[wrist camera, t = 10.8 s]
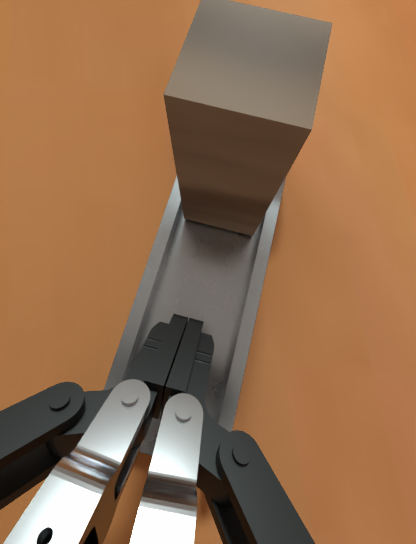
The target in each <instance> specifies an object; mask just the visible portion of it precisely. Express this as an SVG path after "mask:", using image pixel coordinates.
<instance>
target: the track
mask: <svg viewBox="0 0 416 544" xmlns="http://www.w3.org/2000/svg"><path fill="white" fill-rule="evenodd" d="M285 178H286V177H285ZM284 183H285V179H284V181H283V182H282V184H281V186H280V188H279V190H278V192H277V193H276V195H275V197H274V199H273V201H272V202H271V204H270V206H269V208H268V210H267V211H266V213H265V215H264V217H263V219H262V220H261V222H260V224H259V226H258V228H257V229H256V231H255V233H254V235H253V236H250V235H246V234H242V233H239V232H235V231H231V230H227V229H223V228H219V227H215V226H211V225H207V224H203V223H200V222H196V221H192V220H188V219H184V215H183V209H182V203H181V197H180V191H179V184H178V178H177V177H176V180H175V183H174V186H173V189H172V192H171V195H170V198H169V201H168V203H167V206H166V209H165V212H164V215H163V218H162V221H161V224H160V227H159V230H158V233H157V236H156V239H155V242H154V244H153V247H152V250H151V253H150V256H149V259H148V262H147V265H146V268H145V271H144V274H143V277H142V280H141V282H140V285H139V288H138V291H137V294H136V297H135V300H134V303H133V306H132V309H131V312H130V315H129V318H128V321H127V323H126V326H125V329H124V332H123V335H122V338H121V341H120V344H119V347H118V350H117V353H116V356H115V359H114V362H113V364H112V367H111V370H110V373H109V376H108V379H107V382H106V385H105V388H104V390H108V389H111V388H113V387H115V386H117V385H118V384H119V383H121V382H122V381H123V380H124V379H125V378H126V376H127V374H128V373H129V371H130V369H131V367H132V365H133V363H134V361H135V359H136V357H137V355H138V353H139V351H140V350H141V348H142V346H143V344H144V342H145V340H146V339H147V336H148V334H149V332H150V330H151V329H152V327H154V326H155V325H156V324H157V323H159V322H164V323H168V324H169V323H170V320H171V318H172V316H173V314H177V315H181V316H185V317H188V320H189V318H193V319H196V320H200V321H204V323H203V327H202V331H201V332H202V333H205V334H209V335H212V338H213V341H214V351H213V356H212V362H211V368H210V373H209V379H208V385H207V390H206V396H205V405H206V409H207V411H208V413H209V415H210V416H211V418H212V419H213V420H214V421H215V422H216V423H218V424H219V425H220V426H222V427H223V428H225V429H226V430H227V431H229V432H231V431H232V428H233V423H234V419H235V414H236V409H237V404H238V400H239V395H240V390H241V386H242V381H243V376H244V371H245V367H246V362H247V357H248V353H249V348H250V343H251V339H252V334H253V329H254V324H255V320H256V315H257V310H258V306H259V301H260V296H261V291H262V287H263V282H264V277H265V273H266V268H267V263H268V258H269V254H270V249H271V244H272V240H273V235H274V230H275V225H276V221H277V216H278V211H279V207H280V202H281V197H282V192H283V188H284ZM161 410H162V409H161ZM160 416H161V412H160V415H159V419H155V418H152V421H151V424H150V427H149V429H148V432H147V435H146V437H145V440H144V442H143V445H142V447H141V449H140V452H142V453H146V454H149V455H152V456H153V451H154V447H155V443H156V439H157V435H158V431H159V427H160V423H161V420H160Z"/></svg>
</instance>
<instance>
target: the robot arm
mask: <svg viewBox="0 0 416 544" xmlns="http://www.w3.org/2000/svg"><path fill="white" fill-rule="evenodd" d="M203 323H204V321H200V320H196V319H193V318H189V320H188V317H185V316H181V315H177V314H173V316H172V318H171V320H170V323H169V324H168V323H164V322H159V323H157V324H156V325H155V326H154V327H152V329H151V330H150V332H149V334H148V336H147V339H146V340H145V342H144V344H143V346H142V348H141V350H140V351H139V353H138V355H137V357H136V359H135V361H134V363H133V365H132V367H131V369H130V371H129V373H128V374H127V376H126V378H125V379H124V380H123V381H122V382H121V383H119V384H118V385H117V386H115V387H113V388H111V389H108V390H102V391H87V392H83V389H82V388H81V387H80V386H79V385H78V384H76V383H73V382H63V383H59V384H56V385H54V386H52V387H50V388H48V389H46V390H44V391H41V392H39V393H37V394H35V395H33V396H31V397H29V398H27V399H25V400H23V401H21V402H19V403H17V404H14V405H12V406H10V407H8V408H6V409H4V410H2V411H0V510H1V509H2V508H4V507H5V506H7V505H8V504H9V503H11V502H12V501H14V500H15V499H17V498H18V497H20V496H21V495H22V494H24V493H25V492H27V491H28V490H30V489H31V488H33V487H34V486H35V485H37V484H38V483H40V482H41V481H43V480H44V479H46V478H47V479H46V480H45V482H44V483H43V485H42V486H41V488H40V489H39V491H38V492H37V494H36V495H35V497H34V498H33V500H32V501H31V503H30V504H29V506H28V507H27V509H26V510H25V512H24V513H23V515H22V516H21V518H20V519H19V521H18V522H17V524H16V525H15V527H14V528H13V530H12V531H11V533H10V534H9V536H8V537H7V539H6V540H5V542H4V543H3V544H103V542H104V540H105V537H106V535H107V533H108V530H109V528H110V525H111V522H112V520H113V517H114V514H115V510H116V507H117V504H118V501H119V499H120V496H121V494H122V492H123V489H124V487H125V485H126V482H127V480H128V478H129V475H130V473H131V471H132V468H133V466H134V463H135V461H136V459H137V456H138V454H139V452H140V449H141V447H142V445H143V442H144V440H145V437H146V435H147V432H148V429H149V427H150V424H151V421H152V418H155V419H159V415H160V412H161V416H160V420H161V423H160V427H159V431H158V435H157V439H156V443H155V447H154V451H153V456H152V460H151V464H150V468H149V472H148V476H147V480H146V483H145V486H144V490H143V493H142V497H141V501H140V505H139V509H138V513H137V517H136V521H135V525H134V529H133V533H132V538H131V542H130V544H194V536H195V525H196V514H197V493H196V486H197V487H198V488H200V489H201V490H202V491H203V492H204V494H205V497H206V500H207V503H208V505H209V508H210V511H211V513H212V516H213V519H214V521H215V524H216V526H217V529H218V532H219V534H220V537H221V540H222V542H223V544H315V543H314V541H313V539H312V537H311V536H310V534H309V532H308V531H307V529H306V527H305V525H304V524H303V522H302V520H301V519H300V517H299V515H298V513H297V512H296V510H295V508H294V506H293V505H292V503H291V501H290V500H289V498H288V496H287V494H286V493H285V491H284V489H283V488H282V486H281V484H280V482H279V481H278V479H277V477H276V476H275V474H274V472H273V470H272V469H271V467H270V465H269V463H268V462H267V460H266V458H265V457H264V455H263V453H262V451H261V450H260V448H259V446H258V445H257V443H256V442H255V440H254V439H253V438H252V437H251V436H250V435H248V434H247V433H245V432H243V431H231V432H229V431H227V430H226V429H225V428H223V427H222V426H220V425H219V424H218V423H216V422H215V421H214V420H213V419H212V418H211V416H210V415H209V413H208V411H207V409H206V405H205V396H206V390H207V385H208V379H209V373H210V368H211V362H212V356H213V351H214V341H213V338H212V335H209V334H205V333H202V332H201V331H202V327H203ZM161 409H162V410H161Z"/></svg>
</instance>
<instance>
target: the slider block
mask: <svg viewBox="0 0 416 544" xmlns="http://www.w3.org/2000/svg"><path fill="white" fill-rule="evenodd" d="M331 27H332V23H330V22H325V21H321V20H316V19H312V18H307V17H302V16H298V15H293V14H289V13H284V12H280V11H275V10H270V9H266V8H261V7H257V6H252V5H248V4H243V3H238V2H234V1H229V0H201V1H200V4H199V6H198V9H197V11H196V14H195V17H194V19H193V22H192V24H191V27H190V29H189V32H188V34H187V37H186V39H185V42H184V44H183V47H182V49H181V52H180V54H179V57H178V59H177V62H176V65H175V67H174V70H173V72H172V75H171V77H170V80H169V82H168V85H167V87H166V90H165V92H164V100H165V106H166V112H167V118H168V124H169V130H170V136H171V142H172V148H173V154H174V160H175V166H176V172H177V178H178V184H179V191H180V197H181V203H182V209H183V215H184V219H188V220H192V221H196V222H200V223H203V224H207V225H211V226H215V227H219V228H223V229H227V230H231V231H235V232H239V233H242V234H246V235H250V236H253V235H254V233H255V231H256V229H257V228H258V226H259V224H260V222H261V220H262V219H263V217H264V215H265V213H266V211H267V210H268V208H269V206H270V204H271V202H272V201H273V199H274V197H275V195H276V193H277V192H278V190H279V188H280V186H281V184H282V182H283V181H284V179H285V177H286V175H287V173H288V172H289V170H290V168H291V166H292V164H293V163H294V161H295V159H296V157H297V155H298V154H299V152H300V150H301V148H302V146H303V145H304V143H305V141H306V139H307V137H308V135H309V134H310V132H311V130H312V126H313V121H314V115H315V110H316V105H317V100H318V95H319V89H320V84H321V79H322V74H323V69H324V63H325V58H326V53H327V48H328V43H329V37H330V32H331Z"/></svg>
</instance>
